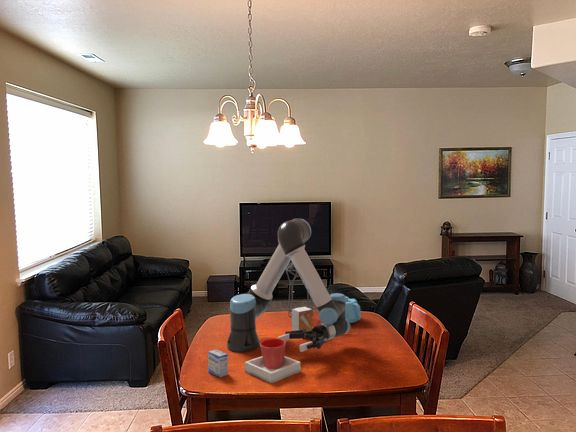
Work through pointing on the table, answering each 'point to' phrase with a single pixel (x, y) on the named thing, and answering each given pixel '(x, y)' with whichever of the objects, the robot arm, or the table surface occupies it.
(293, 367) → the white square tray
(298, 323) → the small box
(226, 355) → the medicine box
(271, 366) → the flower pot
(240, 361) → the table surface
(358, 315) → the decorative pot
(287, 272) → the geometric lantern
